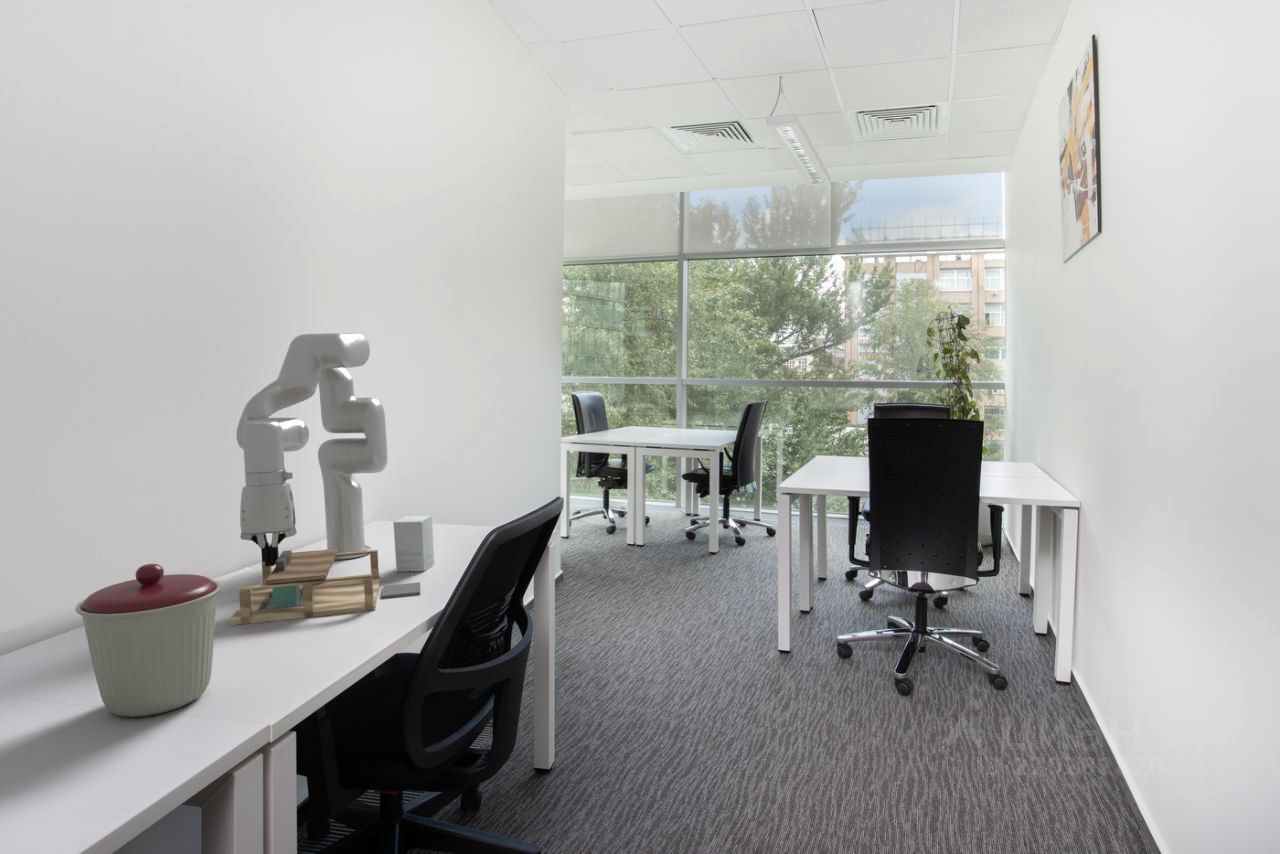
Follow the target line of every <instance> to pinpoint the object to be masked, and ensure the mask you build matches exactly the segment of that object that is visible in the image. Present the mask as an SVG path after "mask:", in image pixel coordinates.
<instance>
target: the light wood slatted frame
mask: <svg viewBox="0 0 1280 854" xmlns="http://www.w3.org/2000/svg"><path fill="white" fill-rule="evenodd" d="M361 554H367V555H369V557H370V558H369V559H370V573H369V574H359V575H358V574H357V575H349V576H336V577H326V579H317V580H306V581H296V582H285V583H274V584H266V579H267V578H268V577H269V575H270V574H271V573H272V566H270V565H269V566H267V567H265V562H262V561H261V571H262V573H261V574H262V584H252V585H243V586H240V587H239V588H238V593H239V607H238V608H237V610H236V611H235V613H233V615H232V616H231V617H230V619H229V620H228V624H229V625H231V626H237V625H238V624H241V625H248V623H250V624H257V623H258V622H259V623H265V622H267V621H269V622H275V621H277V622H278V621H285V620H286V619H287V620H295V619H305V618H313V617H322V616H331V615H332V616H333V614H334V615H340V614H341V615H342V613H343V614H350V612H352V613H360V612H359V611H362V612H368V611H370V610H371V611H376V609H377V608H376V607H377V601H378V597H377V596H378V595H379V590H380V584H381V575H380V571H379V552H378V549H373V550H372V549H371V551H359V552H347V553H337V554H336V557H338V556H350V555H361ZM292 585H299V593H300V594H303V595H302V596H303V605H299V606H298V605H297V606H287V607H277V608H271V609H263V608H264V606H265V604H266V603H267V601H268V600H269V598H270V597H271V596H270V595H273V591H272V587H282V586H292ZM269 596H270V597H269ZM267 599H268V600H267ZM265 602H266V603H265ZM263 605H264V606H263ZM261 608H262V609H261ZM357 611H358V612H357ZM238 626H239V625H238Z"/></svg>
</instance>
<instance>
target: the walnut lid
mask: <svg viewBox="0 0 1280 854" xmlns="http://www.w3.org/2000/svg"><path fill="white" fill-rule="evenodd" d="M336 554H337V549H330V550H326V549H319V550H308V551H298V552H292V550H283V551H282V553H281V554H280V555H279V558H278V559H277V560H276V562H275V565H274V566H275V567H274V568H273V570H271V572H272V573H271V574H270V575H269V577H268V578H267V579H266V584H274V583H285V582H296V581H306V580H317V579H326V578H328V575H329V572H330V570H331V568H332V565H333V564H334V561H335V560H334V559H335V557H336Z"/></svg>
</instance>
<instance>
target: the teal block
mask: <svg viewBox="0 0 1280 854" xmlns="http://www.w3.org/2000/svg"><path fill="white" fill-rule="evenodd" d="M272 591H273V596H272V602H273V605H272V606H273V608H279V607H278V606H284V607H289V606H288V605H294V606H298V604H297V603H299V602H298V601H300V600H301V596H300V594H301V593H299V585H292V586H282V587H272Z"/></svg>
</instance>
